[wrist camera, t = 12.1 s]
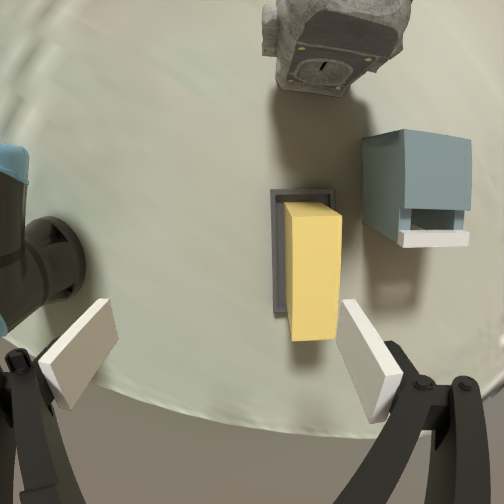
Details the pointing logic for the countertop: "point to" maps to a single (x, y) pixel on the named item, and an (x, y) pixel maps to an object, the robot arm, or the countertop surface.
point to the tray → (279, 234)
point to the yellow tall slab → (312, 269)
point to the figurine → (331, 40)
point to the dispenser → (417, 187)
